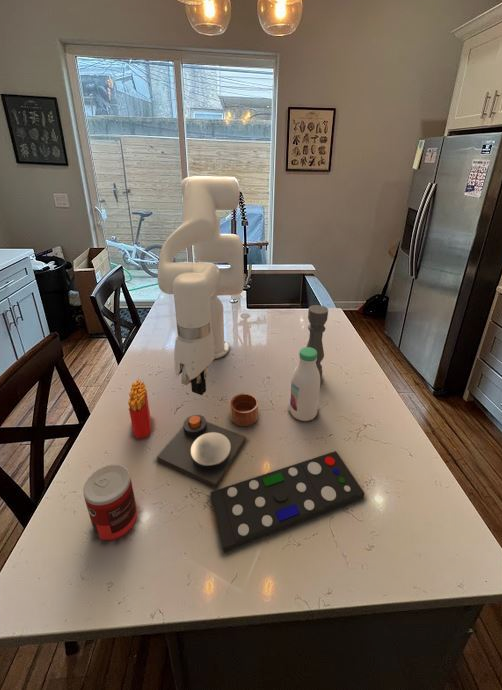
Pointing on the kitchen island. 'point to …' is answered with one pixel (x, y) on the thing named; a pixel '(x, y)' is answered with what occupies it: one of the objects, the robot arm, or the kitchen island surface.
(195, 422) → the tare button
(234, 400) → the bowl
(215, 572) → the kitchen island surface
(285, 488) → the remote control
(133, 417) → the french fries
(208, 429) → the scale
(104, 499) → the canned food
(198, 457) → the scale pan
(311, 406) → the milk bottle
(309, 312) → the pepper mill
